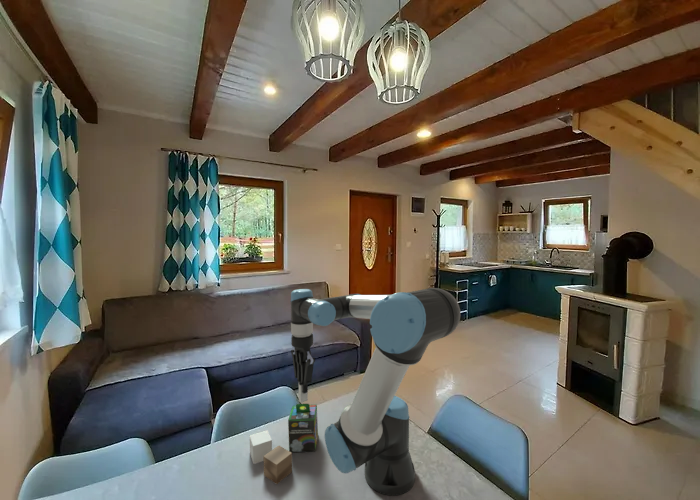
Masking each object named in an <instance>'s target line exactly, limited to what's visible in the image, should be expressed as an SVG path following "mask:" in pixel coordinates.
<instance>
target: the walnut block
mask: <svg viewBox="0 0 700 500" xmlns="http://www.w3.org/2000/svg"><path fill="white" fill-rule="evenodd" d="M292 473H293V452H289V449H286V448H285V447H283V446H281V445H277V446H276V447H275V448H272V451H270V452H269V453H267V454H266V455H265V456H264V461H263V476H264V477H265V478H267V479H268V480H270V481H271V482H273V483H274V484H276V485H279V483H281V482H282V481H283V480H284V479H285V478H287V477H288V476H289V475H290V474H292Z"/></svg>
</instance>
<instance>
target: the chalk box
mask: <svg viewBox="0 0 700 500" xmlns="http://www.w3.org/2000/svg"><path fill="white" fill-rule="evenodd" d="M290 409H291V410H290V413H289V416H288V420H287V424H288V427H287V429H288V451H289V452H291V453H303V452H304V453H306V452H307V453H309V452H311V453H312V452H316V449H317V443H318V437H319V431H318V430H319V427H318V425H319V424H318V406H317V403H315V404H310V403H296V404H295V405H292V407H291V408H290Z"/></svg>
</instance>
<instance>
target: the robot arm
mask: <svg viewBox="0 0 700 500" xmlns="http://www.w3.org/2000/svg"><path fill="white" fill-rule="evenodd" d="M290 318H291V320H290V334H291V338H290V339H291V342H290V343H291V347H293V349H291V350H290V353H291V356H292V365H293V372H294V378H295V379H297V380H296V381H297V382H298V402H299V404H303V403H305V402H307V401H308V400H309V398H308V397H309V396H308V393H309V392H308V391H309V390H308V387H309V386H308V385H309V384H310V383H311V384H312V380H313V372H314V366H315V362H316V357H312V350H311V347H312V346H313V345H314V334H313V333H314V325H317V326H321V327H326V326H329V325H330V324H331V323H333V322H334V321H337V320H340V319H347V318H355V319H356V318H357V319H366V320H369V325H370V326H371V328H370V329H369V331H370V334H371V337H372V342H373V344H374V346H375V348H374V351H373V353H372V354H371V355H372V356H371V358H370V360H369V363H368V365H367V367H366V369H365V372H364V374H363V377H362V379H361V381H360V383H359V386H358V389H357V391H356V393H355V394H354V395H355V396H354V398H353V401H352V402H351V403H350V404H348V405H346V406H345V407H344V408H343V410H342V411H341V414H340V416H339V419H338V421H336V422H334V423H330V425H328V426H327V427H326V428H325V431H324V442H325V446H326V449H327V452H328V456H329V458H330V459H331V461H332V463H333V465H334V466H335V468H336V469H337V471H339V472H340V473H342V474H349V473H351V472H354V471H356V470H357V469H358V468H359V467H361V466H363V465H364V478H365V481H366V482H367V484H368V486H369V487H370V488H371V489H373V490H374V491H376V492H378V493H379V494H382V495H387V496H399V495H403V494H405V493H407V492H409V490H411V489H412V488H413V486H414V484H415V480H416V470H415V465H414V462H413V459H412V456H411V453H410V413H409V405H408V403H407V402H406V401H405V400H404V399H402V398H400V397H399V396H397V395H396V394H397V392H398V389H399V387H400V386H401V383H402V381H403V380H404V378H405V375H406V373H407V372H408V370H409V367H411V366H414V365H417V364H418V363H420V361H421V360H422V358H423V356H424V353H425V352H426V350H427V348H428V346H429V344H431V343H432V342H434V341H437V340H440V339H443V338H445V337H448V336H449V335H451V334H452V333H453V332H455V330H456V329H457V327H458V326H459V323H460V320H461V308H460V305H459V302H458V300H457V299H456V298H455V296H453V294H451V293H450V292H449V291H447V290H444V289H443V288H439V287H428V288H423V289H418V290H414V291H413V290H412V291H407V292H403V291H402V292H401V291H399V292H395V293H393V294H360V293H349V294H346V295H340V296H333V297H326V298H314V295H313V291H312V289H309V288H299V289H294V290H292V291H291V292H290Z"/></svg>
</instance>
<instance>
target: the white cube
mask: <svg viewBox="0 0 700 500" xmlns="http://www.w3.org/2000/svg"><path fill="white" fill-rule="evenodd" d="M272 450H273V440H272V436H271V435H270V432H269V430H268V429H266V430H264V431H260V432H257V433H253V434H250V435H249V454H250V457H251V461H252V464H253V465H256V464H260V463H261V462H264V456H265V455H266V454H267V453H269V452H270V451H272Z"/></svg>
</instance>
